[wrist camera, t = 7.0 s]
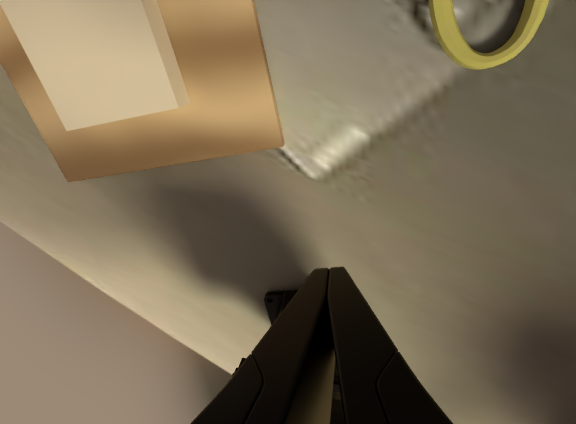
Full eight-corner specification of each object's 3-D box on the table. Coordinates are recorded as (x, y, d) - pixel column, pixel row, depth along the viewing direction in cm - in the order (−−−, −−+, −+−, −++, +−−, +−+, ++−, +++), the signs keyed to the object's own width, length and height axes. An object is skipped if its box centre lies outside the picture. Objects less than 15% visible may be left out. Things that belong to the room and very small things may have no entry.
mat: (284, 143, 20) (283, 146, 19) (73, 178, 23) (67, 182, 22) (216, -175, 13) (211, -183, 13) (-59, -62, 17) (-71, -65, 16)
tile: (178, 107, 17) (66, 131, 19) (191, 102, 19) (85, 124, 20) (122, -52, 14) (-6, -8, 16) (142, -43, 15) (22, -4, 17)
